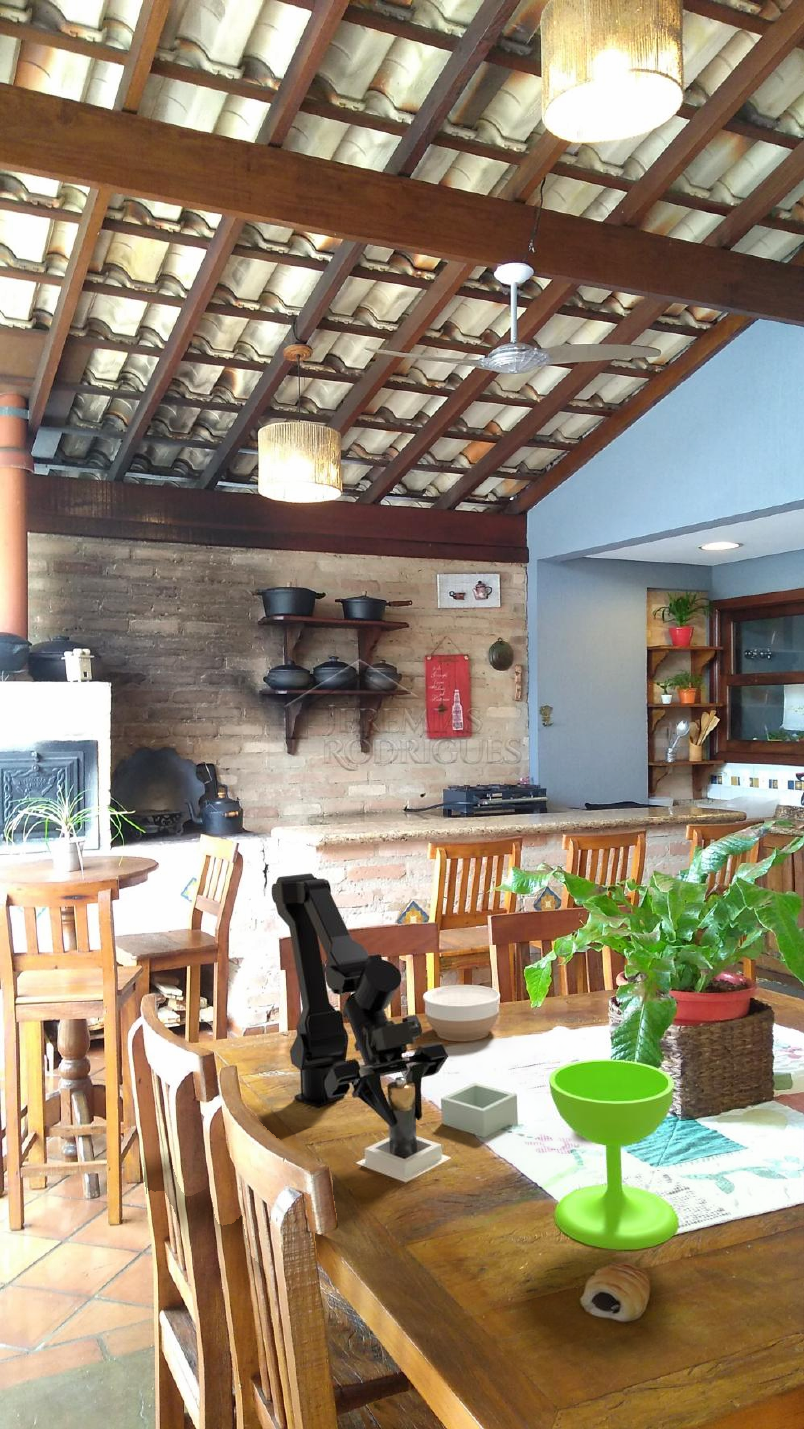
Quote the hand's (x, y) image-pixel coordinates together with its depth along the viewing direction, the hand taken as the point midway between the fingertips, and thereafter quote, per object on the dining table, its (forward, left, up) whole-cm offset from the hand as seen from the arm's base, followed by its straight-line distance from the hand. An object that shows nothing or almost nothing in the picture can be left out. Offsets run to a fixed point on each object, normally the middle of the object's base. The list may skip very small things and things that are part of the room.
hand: (406, 1122), depth 152 cm
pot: (-1, +18, -7) cm, 20 cm away
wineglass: (+31, +6, -7) cm, 32 cm away
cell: (-1, 0, -6) cm, 6 cm away
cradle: (-1, 0, -7) cm, 7 cm away
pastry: (+41, -10, -8) cm, 43 cm away
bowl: (-34, +54, -7) cm, 65 cm away
